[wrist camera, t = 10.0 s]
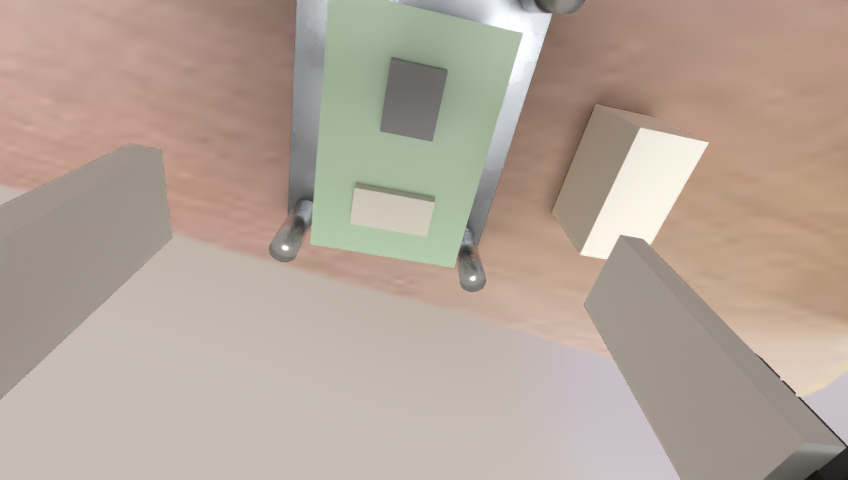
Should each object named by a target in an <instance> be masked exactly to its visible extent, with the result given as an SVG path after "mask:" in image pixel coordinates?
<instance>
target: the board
mask: <svg viewBox="0 0 848 480" xmlns="http://www.w3.org/2000/svg"><path fill="white" fill-rule="evenodd" d="M522 36H523V33H521V32H516V31H512V30H508V29H504V28H500V27H496V26H492V25H487V24H483V23H479V22H475V21H471V20H467V19H463V18H458V17H454V16H450V15H446V14H442V13H438V12H433V11H429V10H425V9H421V8H417V7H413V6H409V5H404V4H400V3H396V2H392V1H388V0H329V2H328V15H327V29H326V42H325V55H324V68H323V81H322V94H321V107H320V120H319V133H318V147H317V160H316V173H315V186H314V199H313V212H312V225H311V238H310V244H311V245H318V246H324V247H330V248H336V249H342V250H348V251H354V252H360V253H366V254H372V255H378V256H384V257H390V258H396V259H402V260H408V261H414V262H421V263H427V264H433V265H439V266H445V267H451V268H454V266H455V262H456V259H457V256H458V252H459V249H460V245H461V242H462V239H463V235H464V232H465V229H466V225H467V222H468V218H469V215H470V212H471V208H472V205H473V201H474V198H475V195H476V191H477V188H478V185H479V181H480V178H481V174H482V171H483V168H484V164H485V161H486V157H487V154H488V151H489V147H490V144H491V141H492V137H493V134H494V130H495V127H496V124H497V120H498V117H499V113H500V110H501V107H502V103H503V100H504V96H505V93H506V90H507V86H508V83H509V80H510V76H511V73H512V69H513V66H514V63H515V59H516V56H517V52H518V49H519V46H520V42H521V39H522Z"/></svg>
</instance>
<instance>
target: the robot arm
mask: <svg viewBox="0 0 848 480" xmlns="http://www.w3.org/2000/svg"><path fill="white" fill-rule="evenodd" d="M171 239H172V232H171V224H170V216H169V208H168V200H167V192H166V184H165V176H164V168H163V159H162V151H161V149H157V148H152V147H146V146H141V145H136V144H128V145H126V146H124V147H122V148H120V149H118V150H116V151H114V152H111V153H109V154H107V155H105V156H103V157H101V158H99V159H97V160H95V161H92V162H90V163H88V164H86V165H84V166H82V167H80V168H78V169H76V170H73V171H71V172H69V173H67V174H65V175H63V176H61V177H59V178H57V179H54V180H52V181H50V182H48V183H46V184H44V185H42V186H40V187H38V188H36V189H33V190H31V191H29V192H27V193H25V194H23V195H21V196H19V197H17V198H15V199H13V200H10V201H8V202H6V203H4V204H2V205H0V400H1V399H2V398H3V397H4V396H5V395H6V394H7V393H8V392H9V391H10V390H11V389H12V388H13V387H14V386H15V385H17V384H18V383H19V382H20V381H21V380H22V379H23V378H24V377H25V376H26V375H27V374H28V373H29V372H30V371H31V370H32V369H34V368H35V367H36V366H37V365H38V364H39V363H40V362H41V361H42V360H43V359H44V358H45V357H46V356H47V355H48V354H49V353H51V352H52V351H53V350H54V349H55V348H56V347H57V346H58V345H59V344H60V343H61V342H62V341H63V340H64V339H65V338H67V337H68V336H69V335H70V334H71V333H72V332H73V331H74V330H75V329H76V328H77V327H78V326H79V325H80V324H81V323H82V322H83V321H85V320H86V319H87V318H88V317H89V316H90V315H91V314H92V313H93V312H94V311H95V310H96V309H97V308H98V307H99V306H100V305H102V304H103V303H104V302H105V301H106V300H107V299H108V298H109V297H110V296H111V295H112V294H113V293H114V292H115V291H116V290H118V288H119V287H121V286H122V285H123V284H124V283H125V282H126V281H127V280H128V279H129V278H130V277H131V276H132V275H133V274H134V273H136V272H137V271H138V270H139V269H140V268H141V267H142V266H143V265H144V264H145V263H146V262H147V261H148V260H149V259H151V257H153V256H154V255H155V254H156V253H157V252H158V251H159V250H160V249H161V248H162V247H163V246H164V245H165V244H166V243H168V241H170V240H171ZM584 307H585V308H586V310H587V312H588V314H589V316H590V317H591V319H592V321H593V323H594V325H595V326H596V328H597V330H598V332H599V334H600V335H601V337H602V339H603V341H604V342H605V344H606V346H607V348H608V350H609V351H610V353H611V355H612V357H613V359H614V360H615V362H616V364H617V366H618V367H619V369H620V371H621V373H622V375H623V376H624V378H625V380H626V382H627V384H628V385H629V387H630V389H631V391H632V393H633V394H634V396H635V398H636V400H637V402H638V403H639V405H640V407H641V409H642V411H643V412H644V414H645V416H646V418H647V420H648V421H649V423H650V425H651V427H652V428H653V430H654V432H655V434H656V436H657V438H658V439H659V441H660V443H661V445H662V447H663V448H664V450H665V452H666V454H667V455H668V457H669V459H670V461H671V463H672V464H673V466H674V468H675V470H676V472H677V473H678V475H679V477H680V479H681V480H848V446H847V445H846V444H845V443H844V442H843V441H842V440H841V439H840V438H839V437H838V436H837V435H836V434H835V432H834V431H832V429H831V428H830V427H829V426H828V425H827V424H826V423H825V422H824V421H823V420H822V419H821V418H820V417H819V416H818V415H817V414H816V413H815V412H814V411H813V410H812V409H811V408H810V407H809V406H808V405H807V404H806V403H805V402H804V401H803V400H802V399H801V398H800V397H797V396H796V395H795V394H796V393H795V392H794V391H793V390H792V389H791V388H790V387H789V386H788V385H787V384H786V383H785V381H781V380H780V376H779V375H778V374H777V373H776V372H775V371H774V370H773V369H772V368H771V367H770V366H769V365H768V364H767V363H766V362H765V361H764V360H763V359H762V358H761V357H759V356H758V355H757V354H755V353H754V352H753V351H752V350H751V349H750V348H749V347H748V346H747V345H746V344H745V343H744V342H743V341H742V340H741V339H740V338H739V337H738V336H737V335H736V333H735V332H734V331H733V330H732V329H731V328H730V327H729V326H728V325H727V324H726V323H725V322H724V321H723V320H722V319H721V318H720V317H719V316H718V315H717V314H716V313H715V312H714V311H713V310H712V309H711V308H710V307H709V306H708V305H707V304H706V303H705V302H704V301H703V300H702V299H701V298H700V297H699V296H698V295H697V293H696V292H695V291H694V290H693V289H692V288H691V287H690V286H689V285H688V284H687V283H686V282H685V281H684V280H683V279H682V278H681V277H680V276H679V275H678V274H677V273H676V272H675V271H674V270H673V269H672V268H671V267H670V266H669V265H668V264H667V263H666V262H665V261H664V260H663V259H662V258H661V257H660V256H659V254H658V253H657V252H656V251H655V250H654V249H653V248H652V247H651V246H650V245H649V244H648V243H647V242H646V241H645V240H644V239H641V238H635V237H630V236H625V235H620V236H619V238H618V240H617V242H616V244H615V246H614V247H613V249H612V251H611V253H610V255H609V257H608V259H607V261H606V263H605V265H604V267H603V268H602V270H601V272H600V274H599V276H598V278H597V280H596V282H595V284H594V286H593V288H592V289H591V291H590V293H589V295H588V297H587V299H586V301H585V303H584Z"/></svg>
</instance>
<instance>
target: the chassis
mask: <svg viewBox="0 0 848 480" xmlns="http://www.w3.org/2000/svg"><path fill="white" fill-rule="evenodd" d="M388 1H392V2H396V3H400V4H404V5H409V6H413V7H417V8H421V9H425V10H429V11H433V12H438V13H442V14H446V15H450V16H454V17H458V18H463V19H467V20H471V21H475V22H479V23H483V24H487V25H492V26H496V27H500V28H504V29H508V30H512V31H516V32H521V33H523V36H522V39H521V42H520V46H519V49H518V52H517V56H516V59H515V63H514V66H513V69H512V73H511V76H510V80H509V83H508V86H507V90H506V93H505V96H504V100H503V103H502V107H501V110H500V113H499V117H498V120H497V124H496V127H495V130H494V134H493V137H492V141H491V144H490V147H489V151H488V154H487V157H486V161H485V164H484V168H483V171H482V174H481V178H480V181H479V185H478V188H477V191H476V195H475V198H474V201H473V205H472V208H471V212H470V215H469V218H468V222H467V225H466V229H465V232H464V235H463V239H462V242H461V245H460V249H459V252H458V256H457V266H458V272H459V278H460V284H461V287H462V288H463V289H464V290H466V291H469V292H476V291H479V290H481V289H482V288H483V287H484V286H485V284H486V278H485V274H484V270H483V266H482V262H481V258H480V254H479V250H478V244H479V241H480V238H481V234H482V231H483V228H484V225H485V222H486V219H487V216H488V213H489V209H490V206H491V203H492V200H493V197H494V194H495V191H496V188H497V185H498V181H499V178H500V175H501V172H502V169H503V166H504V163H505V160H506V156H507V153H508V150H509V147H510V144H511V141H512V138H513V135H514V132H515V128H516V125H517V122H518V119H519V116H520V113H521V110H522V107H523V103H524V100H525V97H526V94H527V91H528V88H529V85H530V82H531V79H532V75H533V72H534V69H535V66H536V63H537V60H538V57H539V54H540V50H541V47H542V44H543V41H544V38H545V35H546V32H547V29H548V26H549V22H550V19H551V16H552V14H570V13H573V12H575V11H576V10H578V9H579V8H580V7H581V6H582V4H583V3H584V1H585V0H388ZM328 2H329V0H297V9H296V33H295V57H294V80H293V104H292V128H291V151H290V175H289V199H288V216H287V218H286V220H285V221H284V223H283V224H282V226H281V228H280V229H279V231H278V232H277V234H276V236H275V237H274V239H273V241H272V242H271V244H270V246H269V252H270V254H271V256H272V257H273V258H274V259H276V260H278V261H280V262H290V261H292V260H293V259H294V258H295V257H296V255H297V253H298V251H299V249H300V247H301V245H302V243H303V241H304V239H305V237H306V235H307V232H308V230H309V228H310V226H311V225H312V212H313V199H314V186H315V173H316V160H317V147H318V133H319V120H320V107H321V94H322V81H323V68H324V55H325V42H326V29H327V15H328Z"/></svg>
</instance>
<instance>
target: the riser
mask: <svg viewBox="0 0 848 480" xmlns="http://www.w3.org/2000/svg"><path fill="white" fill-rule="evenodd" d="M708 143H709V142H707V141H704V140H702V139H700V138H698V137H696V136H693V135H691V134H689V133H687V132H685V131H682V130H680V129H678V128H676V127H674V126H671V125H669V124H667V123H665V122H663V121H661V120H658V119H656V118H654V117H652V116H647V115H643V114H639V113H634V112H630V111H625V110H621V109H616V108H612V107H607V106H603V105H598V104H595V107H594V109H593V112H592V114H591V117H590V119H589V121H588V124H587V126H586V129H585V131H584V134H583V136H582V139H581V141H580V144H579V146H578V148H577V151H576V153H575V156H574V158H573V161H572V163H571V166H570V168H569V170H568V173H567V175H566V178H565V180H564V183H563V185H562V188H561V190H560V193H559V195H558V197H557V200H556V202H555V205H554V207H553V210H552V213H553V215H554V216H555V218H556V219H557V221H558V222H559V224H560V225H561V227H562V228H563V230H564V231H565V233H566V234H567V236H568V237H569V239H570V240H571V242H572V243H573V245H574V246H575V248H576V249H577V251H578V252H579V254H580V255H585V256H591V257H597V258H602V259H608V257H609V255H610V253H611V251H612V249H613V247H614V246H615V244H616V242H617V240H618V238H619V236H620V235H625V236H630V237H635V238H641V239H644V240H645V241H646V242H647V243H648V244H649V245H651V243H652V241H653V239H654V238H655V236H656V234H657V232H658V231H659V229H660V227H661V225H662V224H663V222H664V220H665V218H666V217H667V215H668V213H669V211H670V210H671V208H672V206H673V204H674V203H675V201H676V199H677V197H678V196H679V194H680V192H681V190H682V189H683V187H684V185H685V183H686V182H687V180H688V178H689V176H690V175H691V173H692V171H693V169H694V168H695V166H696V164H697V162H698V161H699V159H700V157H701V155H702V154H703V152H704V150H705V148H706V147H707V145H708Z"/></svg>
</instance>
